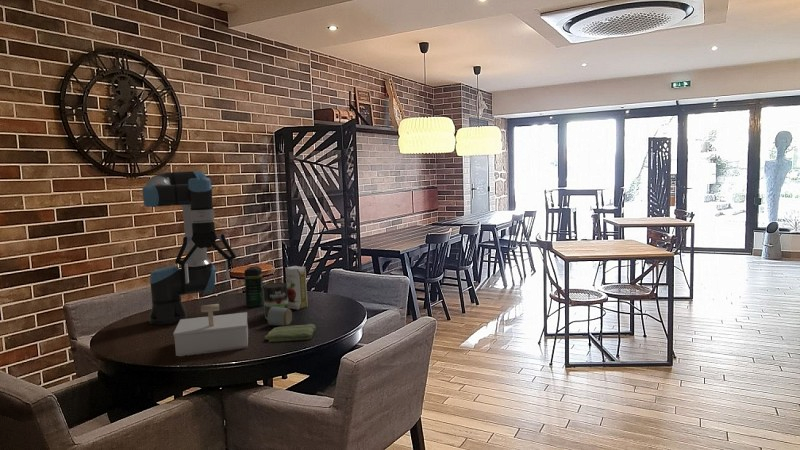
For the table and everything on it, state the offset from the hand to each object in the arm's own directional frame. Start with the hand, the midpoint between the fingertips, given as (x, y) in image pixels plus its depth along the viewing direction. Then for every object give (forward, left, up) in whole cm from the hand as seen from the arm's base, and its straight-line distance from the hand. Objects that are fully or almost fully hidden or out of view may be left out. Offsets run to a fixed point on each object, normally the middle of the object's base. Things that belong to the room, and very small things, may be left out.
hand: (207, 280), depth 184 cm
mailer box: (-5, 0, -25) cm, 26 cm away
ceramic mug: (-22, +25, -25) cm, 42 cm away
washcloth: (-4, +28, -26) cm, 38 cm away
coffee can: (-34, +24, -25) cm, 49 cm away
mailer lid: (-5, 0, -17) cm, 18 cm away
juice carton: (-46, +34, -25) cm, 63 cm away
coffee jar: (-59, +15, -25) cm, 66 cm away
